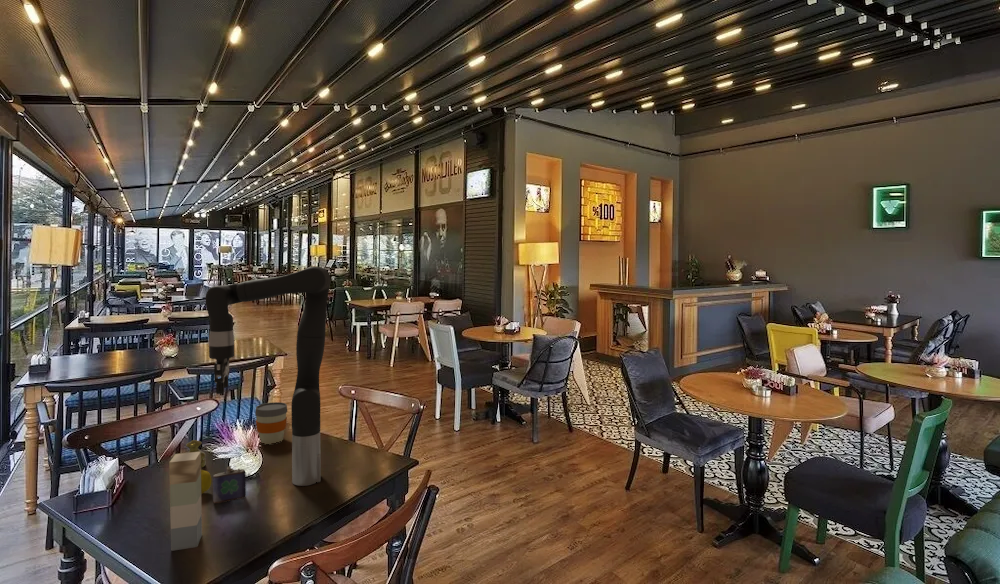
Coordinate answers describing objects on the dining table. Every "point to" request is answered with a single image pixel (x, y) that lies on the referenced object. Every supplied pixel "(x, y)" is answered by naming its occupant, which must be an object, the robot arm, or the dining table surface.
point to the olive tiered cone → (197, 450)
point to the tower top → (185, 493)
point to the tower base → (186, 536)
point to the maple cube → (185, 467)
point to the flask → (229, 485)
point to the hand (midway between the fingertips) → (222, 390)
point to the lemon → (205, 481)
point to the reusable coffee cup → (271, 421)
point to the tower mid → (185, 515)
